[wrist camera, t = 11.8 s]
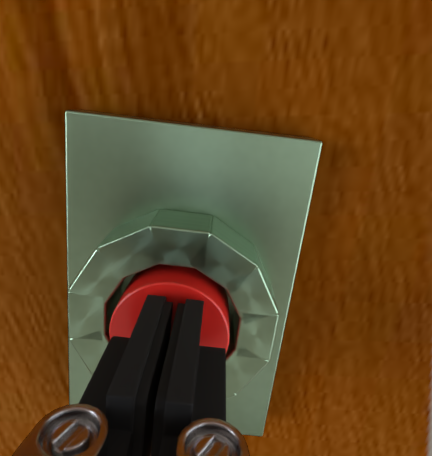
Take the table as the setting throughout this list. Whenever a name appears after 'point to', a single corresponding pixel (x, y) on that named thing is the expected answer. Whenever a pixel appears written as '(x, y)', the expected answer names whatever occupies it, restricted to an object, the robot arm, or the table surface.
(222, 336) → the button
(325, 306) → the table surface
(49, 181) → the table surface
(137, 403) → the robot arm
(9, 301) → the table surface
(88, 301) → the switch box
